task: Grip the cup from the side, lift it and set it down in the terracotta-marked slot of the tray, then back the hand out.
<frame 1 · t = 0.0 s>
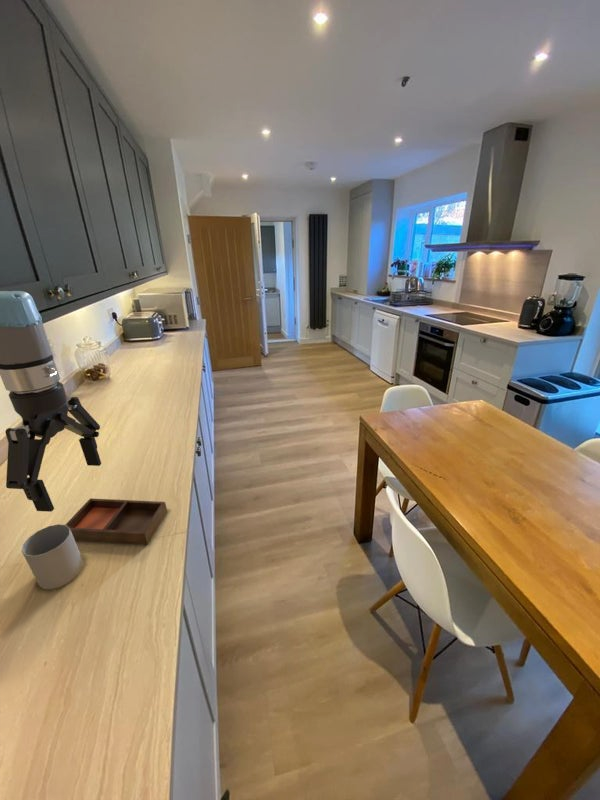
hand: (72, 485, 64), 23 cm above the countertop, tool pointing down, fingers open, 13 cm apart
tray: (118, 525, 85), on the countertop
cup: (61, 572, 73), on the countertop
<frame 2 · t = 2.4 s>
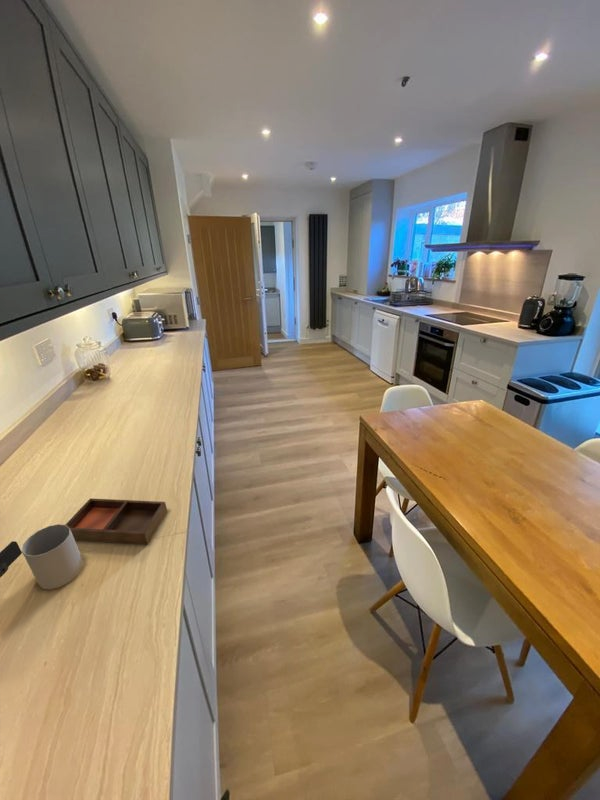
nothing on the countertop moved.
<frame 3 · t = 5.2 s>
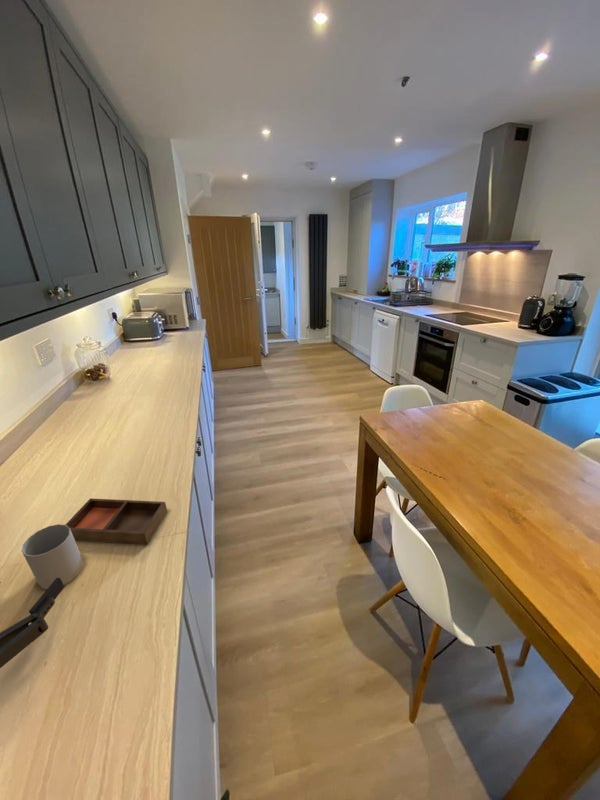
hand: (28, 579, 64), 6 cm above the countertop, tool horizontal, fingers open, 13 cm apart
nothing on the countertop moved.
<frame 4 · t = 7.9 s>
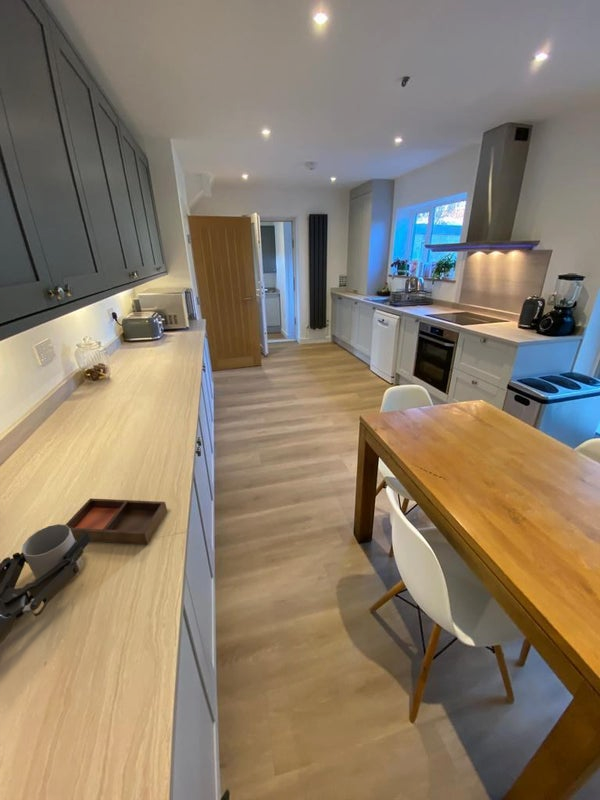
hand: (68, 535, 74), 6 cm above the countertop, tool horizontal, fingers closed on cup, 8 cm apart
cup: (61, 572, 73), on the countertop, touching gripper
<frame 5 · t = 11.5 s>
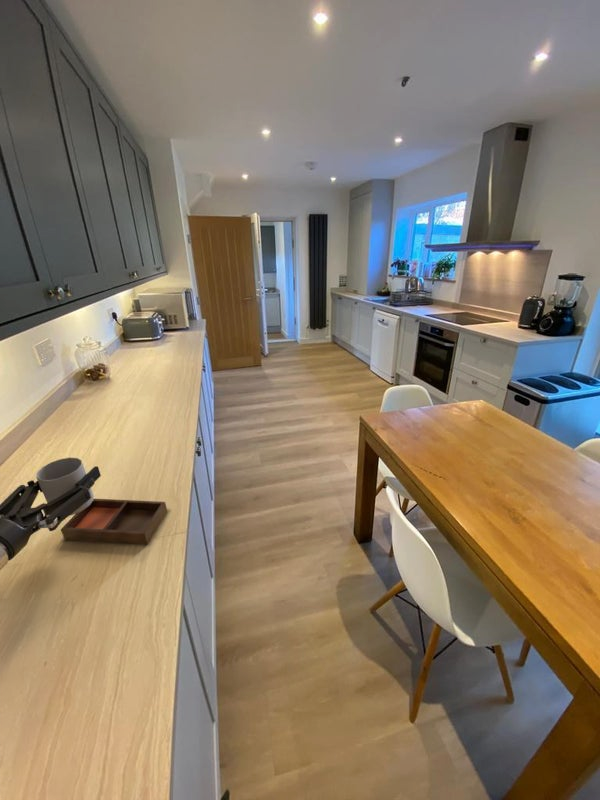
hand: (79, 470, 77), 18 cm above the countertop, tool horizontal, fingers closed on cup, 8 cm apart
cup: (73, 504, 75), point 12 cm above the countertop, touching gripper
when the fingers open (7 cm above the countertop, at t = 15.6 s): cup stays where it is, resting on tray.
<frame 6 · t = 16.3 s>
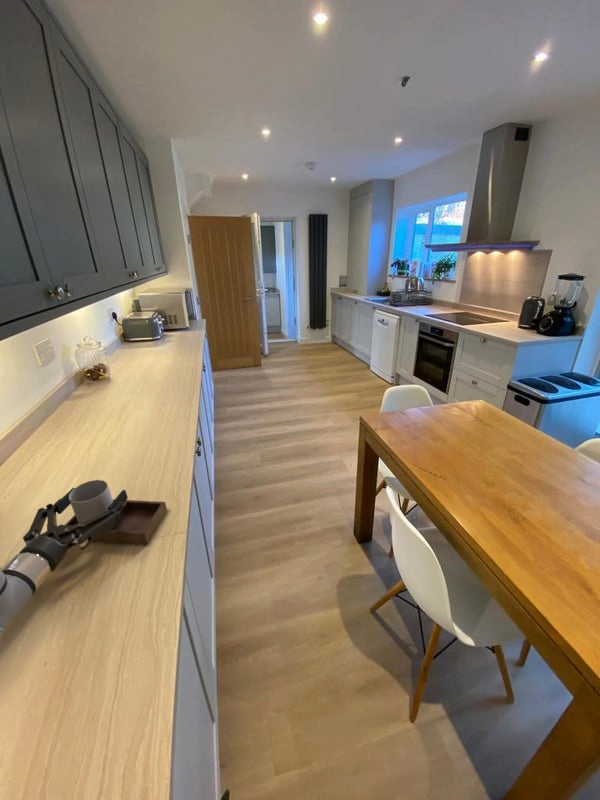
hand: (100, 492, 85), 8 cm above the countertop, tool horizontal, fingers open, 13 cm apart
cup: (99, 521, 85), point 1 cm above the countertop, touching tray
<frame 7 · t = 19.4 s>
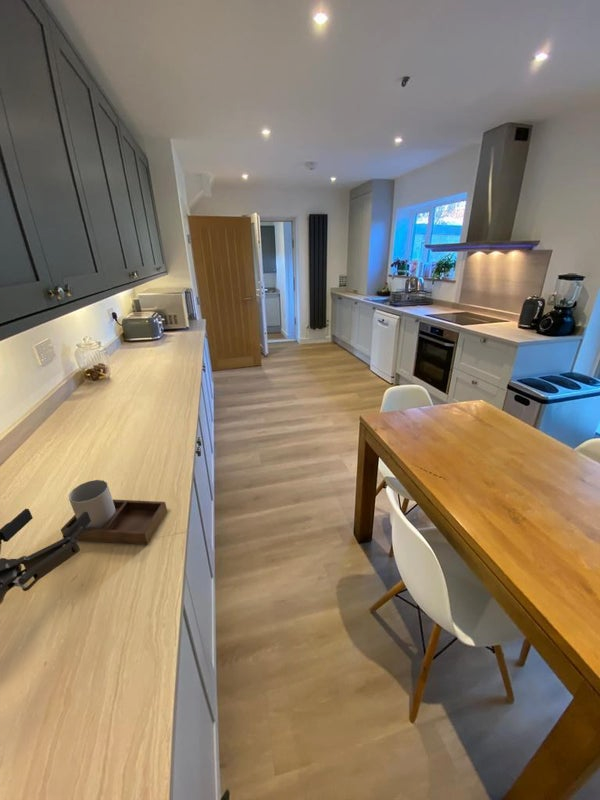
hand: (58, 514, 71), 12 cm above the countertop, tool horizontal, fingers open, 13 cm apart
nothing on the countertop moved.
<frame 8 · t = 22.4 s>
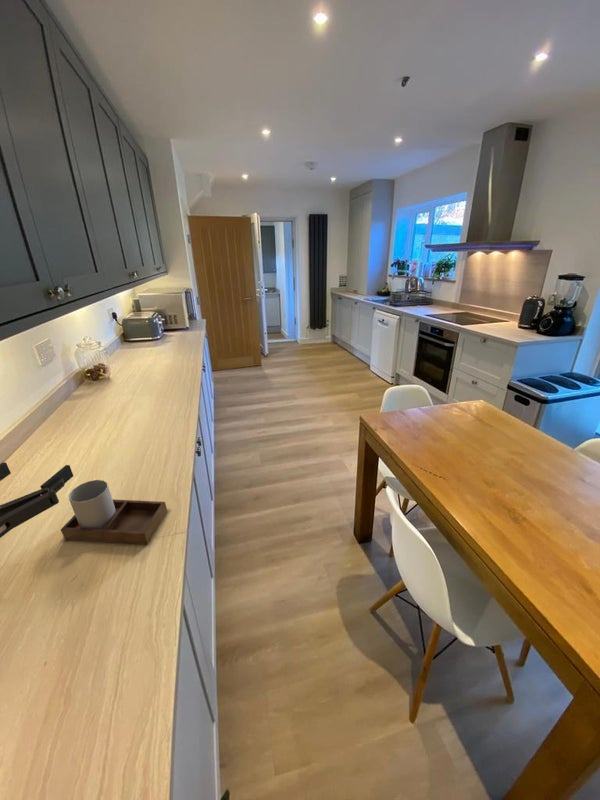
hand: (38, 469, 66), 25 cm above the countertop, tool horizontal, fingers open, 13 cm apart
nothing on the countertop moved.
at the end: cup 0.2 cm from the target spot in the tray, point 1.0 cm above the tray's base; cup tilted 0°; the gripper is holding nothing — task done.
